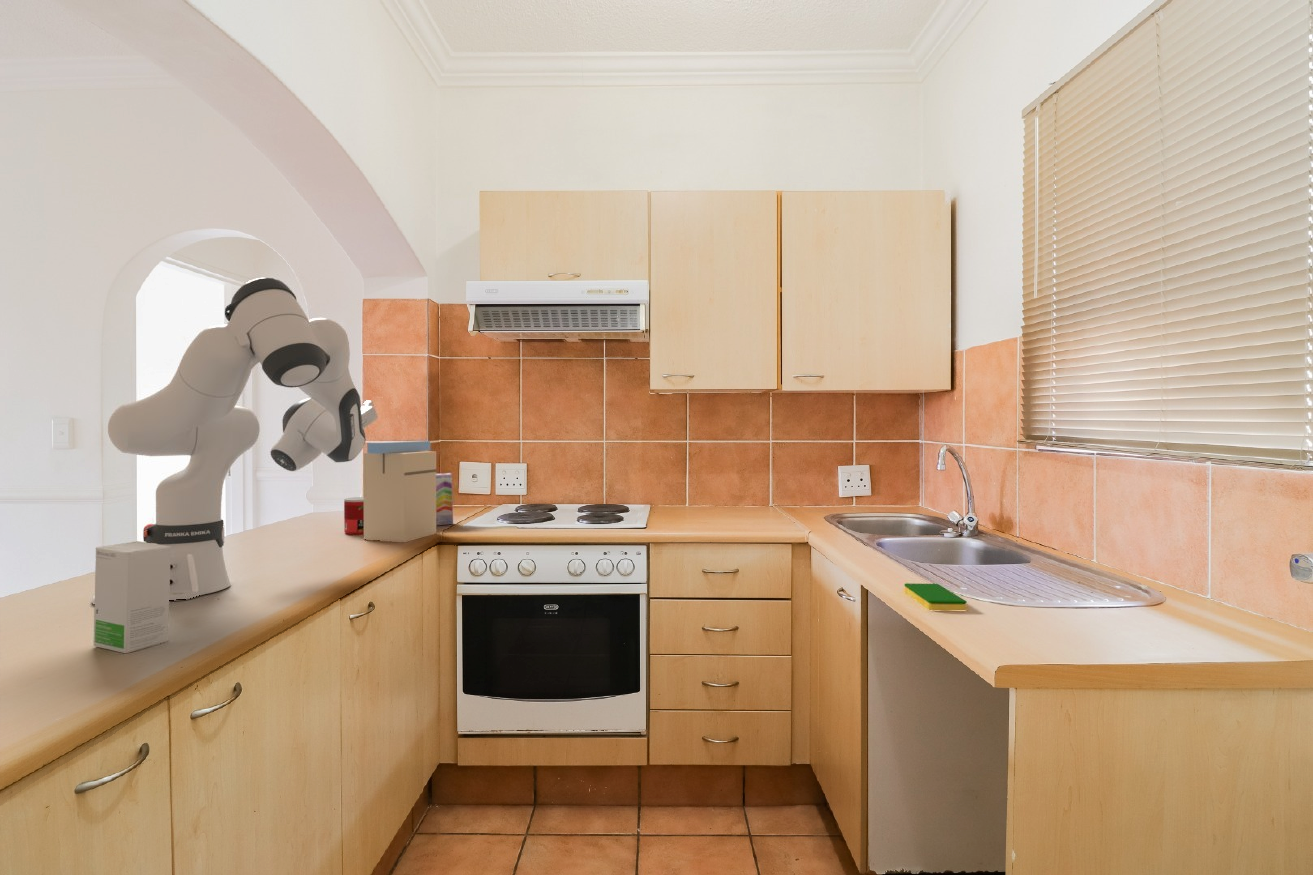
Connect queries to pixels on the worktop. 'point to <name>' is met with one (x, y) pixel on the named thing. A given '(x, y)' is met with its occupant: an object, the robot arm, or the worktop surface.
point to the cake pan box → (444, 499)
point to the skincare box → (131, 596)
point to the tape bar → (397, 447)
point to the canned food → (354, 516)
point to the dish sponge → (935, 597)
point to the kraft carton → (399, 495)
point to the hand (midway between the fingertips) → (356, 403)
